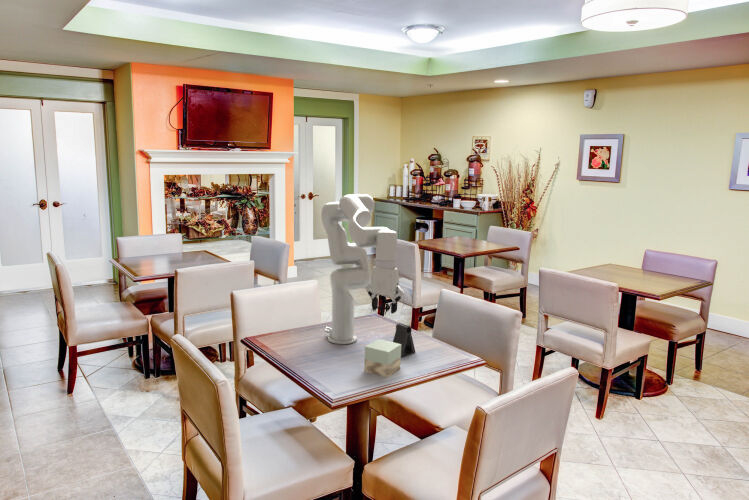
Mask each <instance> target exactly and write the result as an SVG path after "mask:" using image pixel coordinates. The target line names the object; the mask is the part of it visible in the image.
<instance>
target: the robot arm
mask: <svg viewBox="0 0 749 500" xmlns="http://www.w3.org/2000/svg"><path fill="white" fill-rule="evenodd" d="M374 210H375V201H374V199H373V197H372V196H371V195H369V194H367V193H365V194H364V193H362V194H360V193H352V194H351V193H350V194H346V195H343V196H342V197H341V198H340V200H339V201H332V202H327V203H325V204H323V206H322V208H321V221H322V225H323V228H324V230H325V232H326V236H327V242H328V248H329V249H328V250H329V256H330V260H331V263H332V264H333V266H340V267H341V266H353V265H354V266H355V267H344V268H336V269H335V270H333V271H332V272H331V273H330V277H329V280H330V281H329V282H330V288H331V299H332V300H331V327H330V326H325V328H324V333H328V334H329V335H328V336H327V341H329V342H330V343H333V344H336V345H349V344H353V343H356V341H358V336H357V335H356V334H354V333H355V332H354V331H355V330H354V326H355V325H354V324H355V299H354V297H353V295H352V294H351V293H350V291H353V290H363V289H365V290H366V292H367V294H368V296H369V297H370V299H371V310H372V311H373V310H374V309H376V310H377V307H379V303H378V302H379V298H378V296H385V297H390V299H391V300H392V301H391V302H390V304H391V307H390V313H391V314H395V313H396V312H397V311H398V302H400V300H401V299H403V297H404V296H405V295H406V292H405V291H404V290H403V288H401V286H400V276H399V275H400V274H399V269H398V267H397V255H398V251H397V250H398V248H397V247H398V233H397V231H395V230H392V229H390V228H389V227H386V226H369V227H368V225H369V224H370V222H371V219H372V213H373V212H374ZM340 222H341V223H342V222H344V223H345V222H348V227H347V229H348V230H347V231H348V232H347V231H346V229H345V228H344V226H343V225H342V224H340ZM366 226H367V227H366ZM347 233H348V234H347ZM348 235H349V238H350V240H351V242H349V240H348V239H349V238H348ZM366 248H375V258H373V259H372V263H373V264H374V266H373V267H372V270H371V271H370V265H369V259H368V253H367V249H366ZM375 307H376V308H375Z"/></svg>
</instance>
